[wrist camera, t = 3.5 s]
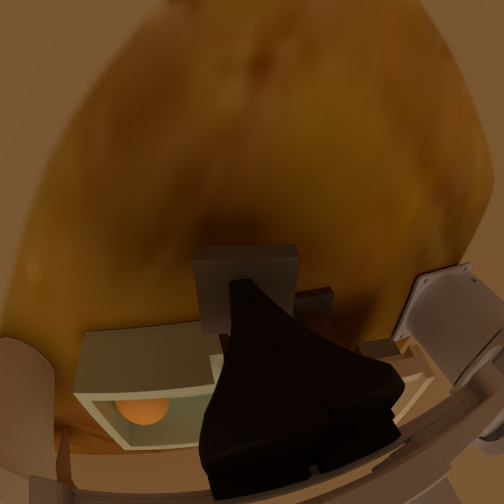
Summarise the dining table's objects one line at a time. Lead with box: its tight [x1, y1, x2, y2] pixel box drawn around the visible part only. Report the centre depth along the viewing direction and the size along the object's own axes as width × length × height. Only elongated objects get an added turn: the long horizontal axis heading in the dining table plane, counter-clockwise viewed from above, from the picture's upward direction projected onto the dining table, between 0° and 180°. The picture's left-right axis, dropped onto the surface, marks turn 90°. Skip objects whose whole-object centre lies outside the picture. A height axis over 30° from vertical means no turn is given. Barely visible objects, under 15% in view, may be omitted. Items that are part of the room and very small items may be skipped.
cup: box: [73, 321, 224, 450], centre depth 17 cm, size 9×9×5 cm
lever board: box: [193, 244, 435, 425], centre depth 15 cm, size 14×15×5 cm
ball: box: [115, 397, 170, 425], centre depth 17 cm, size 4×4×4 cm
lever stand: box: [292, 287, 349, 350], centre depth 19 cm, size 4×11×6 cm, turn 179°
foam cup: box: [0, 337, 57, 504], centre depth 10 cm, size 10×9×13 cm
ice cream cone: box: [56, 428, 78, 489], centre depth 15 cm, size 6×6×15 cm
